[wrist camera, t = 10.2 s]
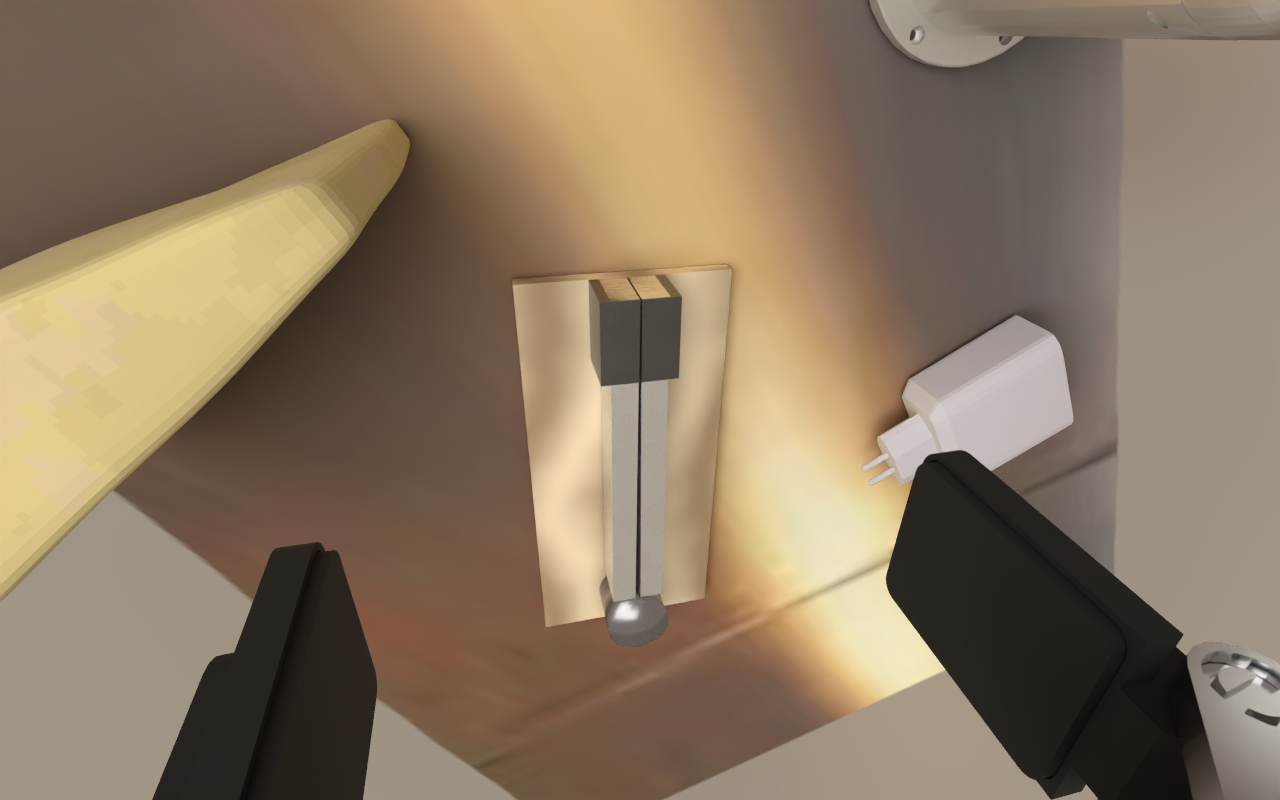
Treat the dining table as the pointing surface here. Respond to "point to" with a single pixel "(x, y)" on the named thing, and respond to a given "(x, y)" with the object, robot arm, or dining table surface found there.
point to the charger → (981, 401)
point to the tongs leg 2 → (654, 420)
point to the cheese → (159, 326)
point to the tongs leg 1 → (617, 422)
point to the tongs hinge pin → (633, 617)
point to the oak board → (572, 434)
